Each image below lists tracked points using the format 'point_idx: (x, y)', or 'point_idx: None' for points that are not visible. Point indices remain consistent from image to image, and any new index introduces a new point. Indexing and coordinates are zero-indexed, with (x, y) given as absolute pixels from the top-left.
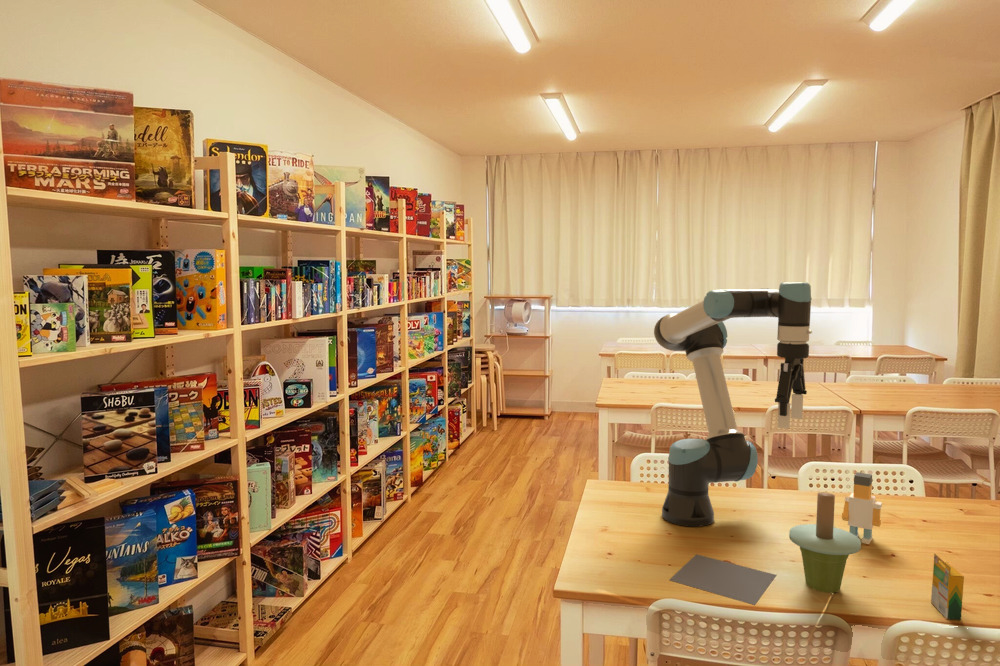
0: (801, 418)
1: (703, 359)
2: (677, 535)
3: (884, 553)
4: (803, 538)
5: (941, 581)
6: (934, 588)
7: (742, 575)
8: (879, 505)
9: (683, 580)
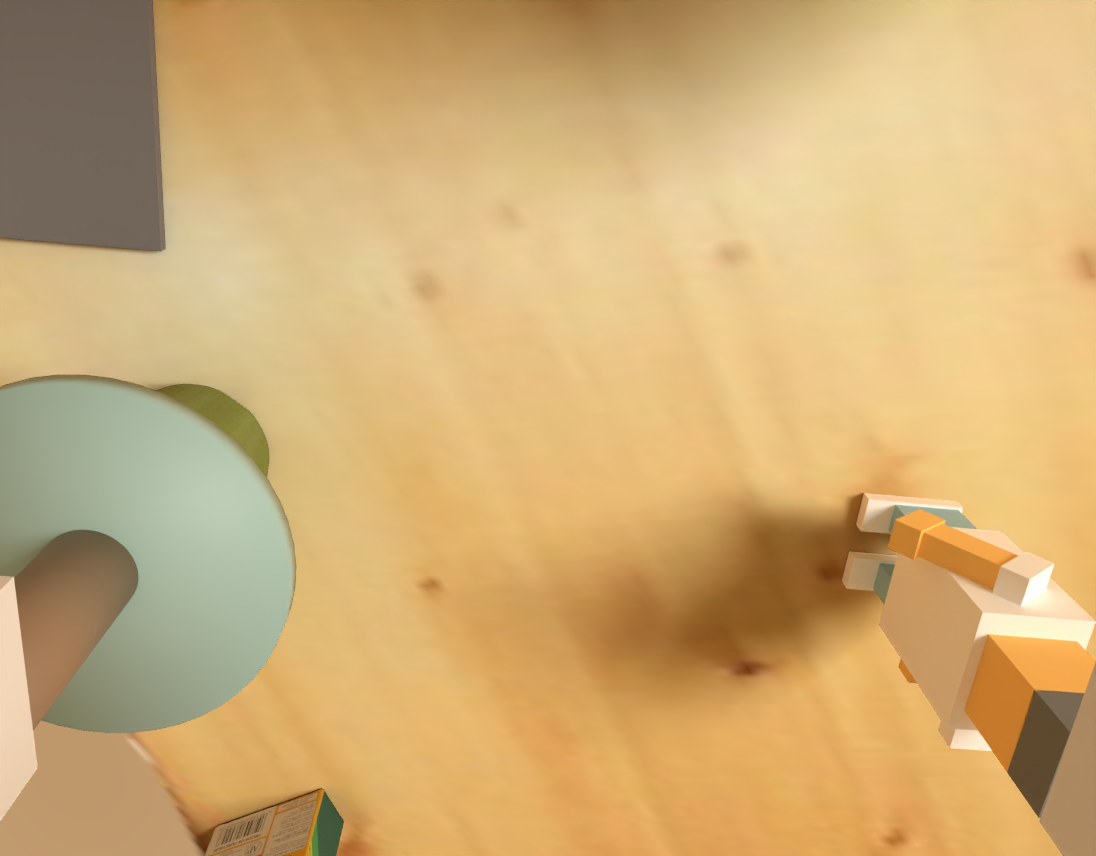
0: (1046, 829)
1: None
2: None
3: (751, 640)
4: None
5: None
6: (289, 846)
7: (31, 89)
8: (950, 740)
9: None
